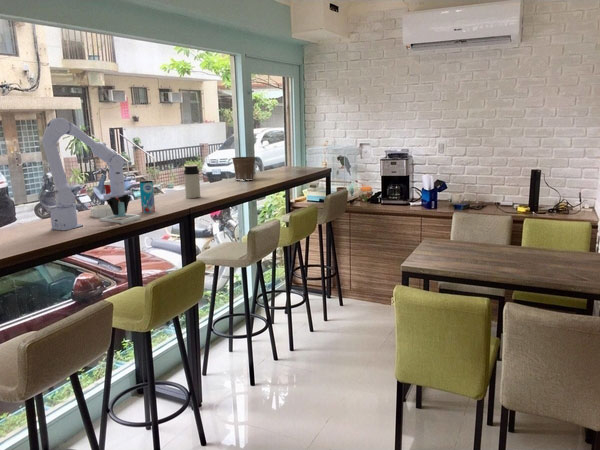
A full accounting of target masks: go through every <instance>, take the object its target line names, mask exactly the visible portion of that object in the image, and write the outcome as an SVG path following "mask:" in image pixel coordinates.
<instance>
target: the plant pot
mask: <svg viewBox="0 0 600 450" xmlns="http://www.w3.org/2000/svg"><path fill="white" fill-rule="evenodd" d="M231 159H232V164H233V168H234V176H235V180H236V179H243V180H246V179H253V180H254V173H255V172H254V171H255V170H254V169H255V162H256V160H255V159H256V157H255V156H238V157H237V156H236V157H231Z"/></svg>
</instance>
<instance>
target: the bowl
mask: <svg viewBox="0 0 600 450" xmlns="http://www.w3.org/2000/svg"><path fill="white" fill-rule="evenodd" d="M90 214H91V215H90V216H91V217H92V218H99V219H100V218H104V217H108V216H112V215H113V212H112V209H111V207H110V205H109V204H99V205H93V206H91V207H90Z"/></svg>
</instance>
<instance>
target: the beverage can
mask: <svg viewBox="0 0 600 450" xmlns="http://www.w3.org/2000/svg"><path fill="white" fill-rule="evenodd" d="M154 191H155V190H154V182H153V180H140V181H139V193H140V205H141V212H142V213H144V214H145V213H146V214H147V213H154V212H156V206H155V195H154V194H155V193H154Z"/></svg>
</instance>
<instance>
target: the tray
mask: <svg viewBox="0 0 600 450" xmlns="http://www.w3.org/2000/svg"><path fill="white" fill-rule="evenodd" d="M125 215H126V216H124V217H125V218H124V217H123V219H116V218H117V217H115V215H112V216H108V217H102V218H99V221H100V222H105V223H106V222H107V223H108V222H109V223H116V224H118V225H125V224H128V223H129V224H130V223H131V222H136V221H140V220H142V215H141V214H130V213H129V214H128V213H125Z"/></svg>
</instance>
